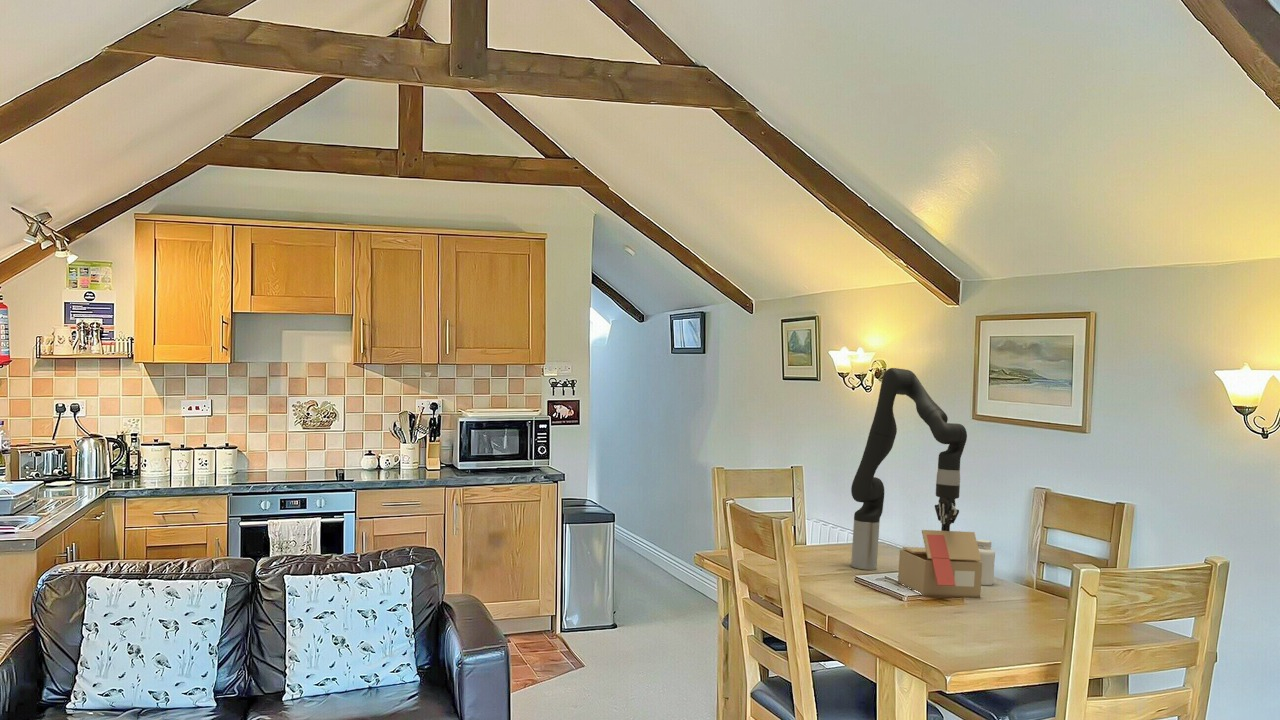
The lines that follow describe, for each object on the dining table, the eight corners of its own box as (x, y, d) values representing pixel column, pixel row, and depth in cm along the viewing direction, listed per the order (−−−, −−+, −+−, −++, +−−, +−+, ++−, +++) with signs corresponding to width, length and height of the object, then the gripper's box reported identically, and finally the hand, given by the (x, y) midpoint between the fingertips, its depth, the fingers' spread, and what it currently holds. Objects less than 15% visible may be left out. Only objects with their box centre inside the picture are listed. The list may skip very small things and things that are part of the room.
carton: (897, 582, 332) (900, 546, 332) (952, 584, 335) (954, 548, 336) (923, 595, 313) (925, 557, 314) (980, 597, 317) (982, 559, 317)
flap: (921, 530, 319) (922, 529, 318) (973, 532, 322) (974, 531, 321) (933, 585, 308) (934, 584, 308) (987, 587, 311) (988, 586, 311)
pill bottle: (968, 583, 339) (971, 540, 340) (969, 579, 347) (972, 537, 347) (992, 586, 336) (995, 543, 337) (993, 582, 344) (996, 540, 344)
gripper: (968, 485, 317) (965, 539, 316) (949, 481, 330) (946, 532, 330) (947, 484, 316) (944, 538, 315) (928, 480, 329) (925, 531, 328)
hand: (945, 535), depth 322 cm, fingers closed
